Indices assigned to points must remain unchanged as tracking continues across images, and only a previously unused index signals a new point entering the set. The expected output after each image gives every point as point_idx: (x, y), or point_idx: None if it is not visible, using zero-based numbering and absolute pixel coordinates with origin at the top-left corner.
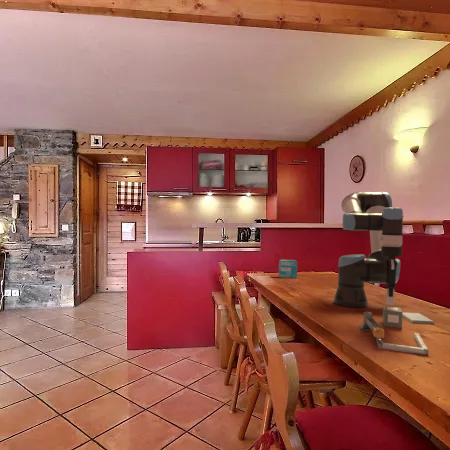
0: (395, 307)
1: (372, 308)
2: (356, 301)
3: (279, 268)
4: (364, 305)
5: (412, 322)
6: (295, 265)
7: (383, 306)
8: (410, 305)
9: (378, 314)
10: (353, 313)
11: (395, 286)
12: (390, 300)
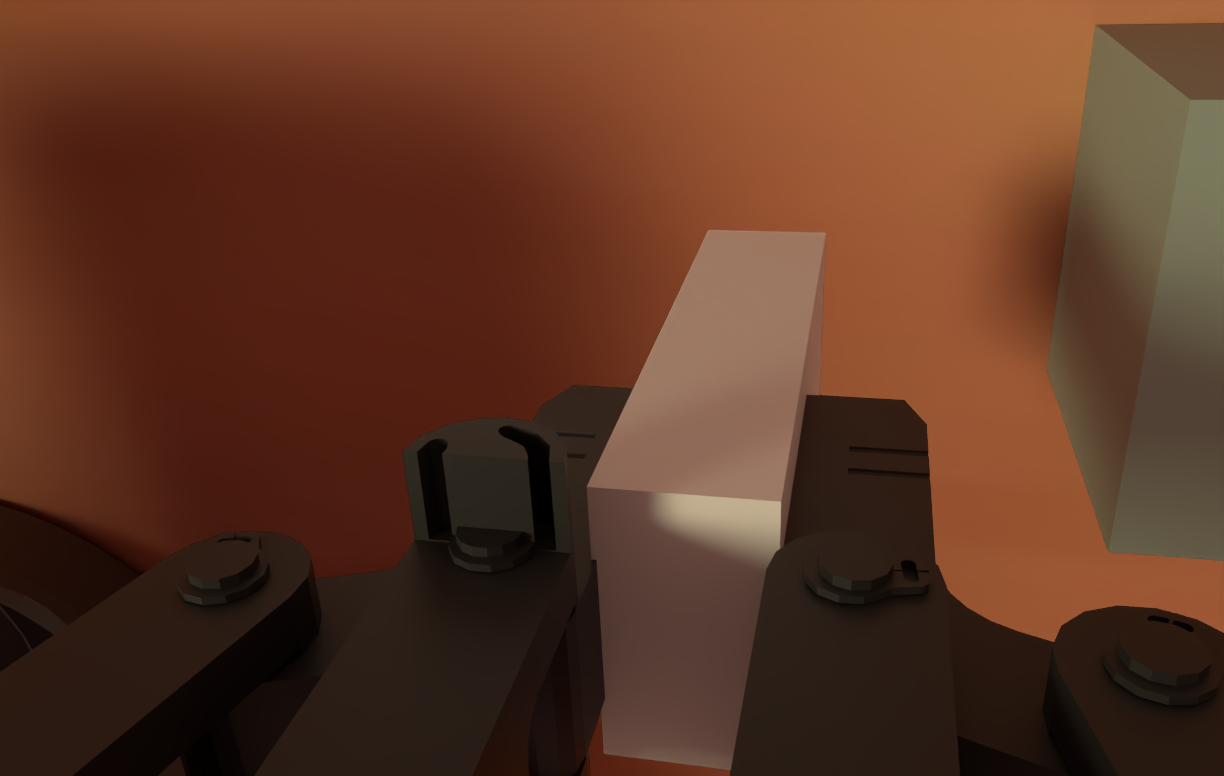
0: (1209, 240)
1: (112, 435)
2: (178, 761)
3: None
4: (104, 577)
5: None
6: None
7: (1166, 547)
8: None
9: (527, 385)
10: (678, 769)
11: (475, 462)
12: (814, 389)
